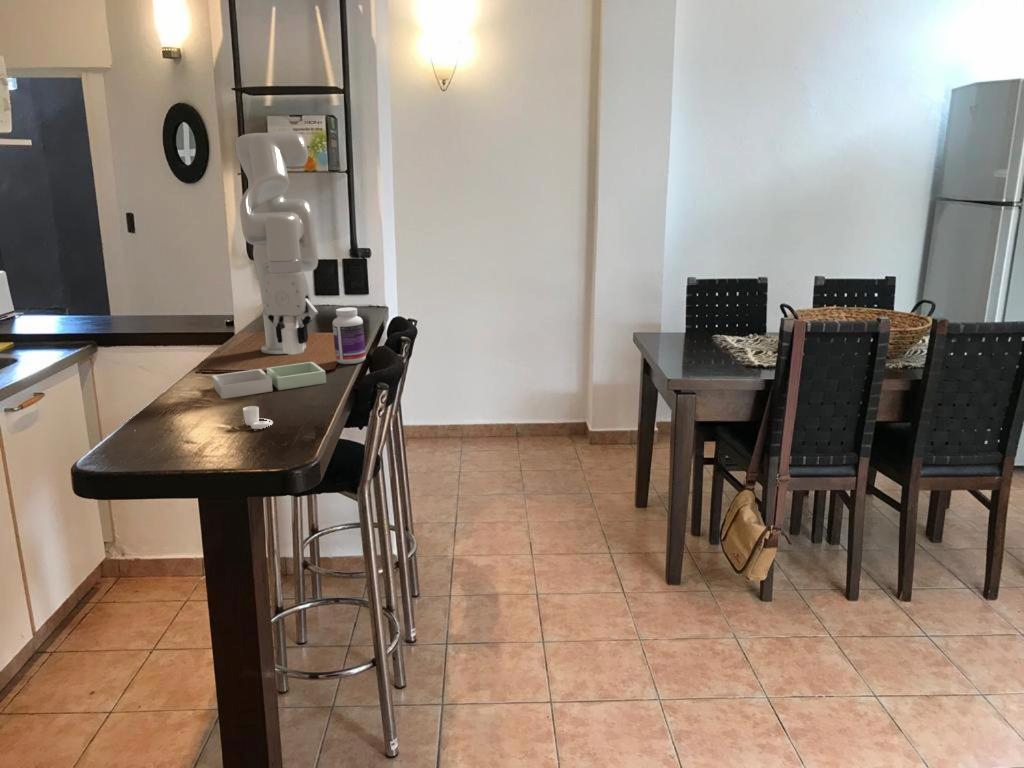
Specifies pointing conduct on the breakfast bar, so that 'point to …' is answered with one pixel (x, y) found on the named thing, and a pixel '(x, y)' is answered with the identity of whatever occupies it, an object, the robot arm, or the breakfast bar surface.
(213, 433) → the breakfast bar surface
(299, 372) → the green bin
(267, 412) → the breakfast bar surface
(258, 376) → the grey bin
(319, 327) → the breakfast bar surface
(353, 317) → the pill bottle
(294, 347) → the pepper shaker
